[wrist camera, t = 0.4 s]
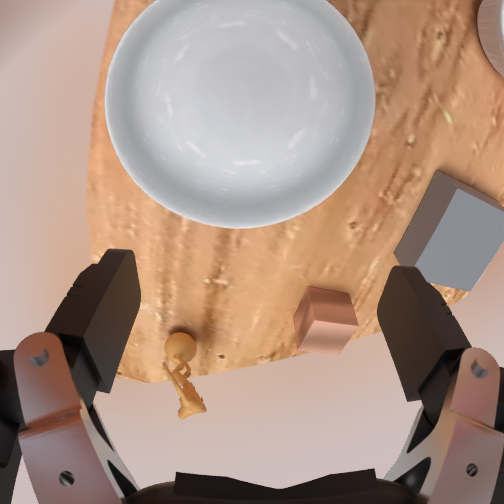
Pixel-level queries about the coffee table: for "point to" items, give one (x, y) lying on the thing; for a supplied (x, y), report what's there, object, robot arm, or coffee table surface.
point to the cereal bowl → (239, 107)
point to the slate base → (452, 234)
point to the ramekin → (492, 32)
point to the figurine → (183, 351)
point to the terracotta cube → (324, 321)
